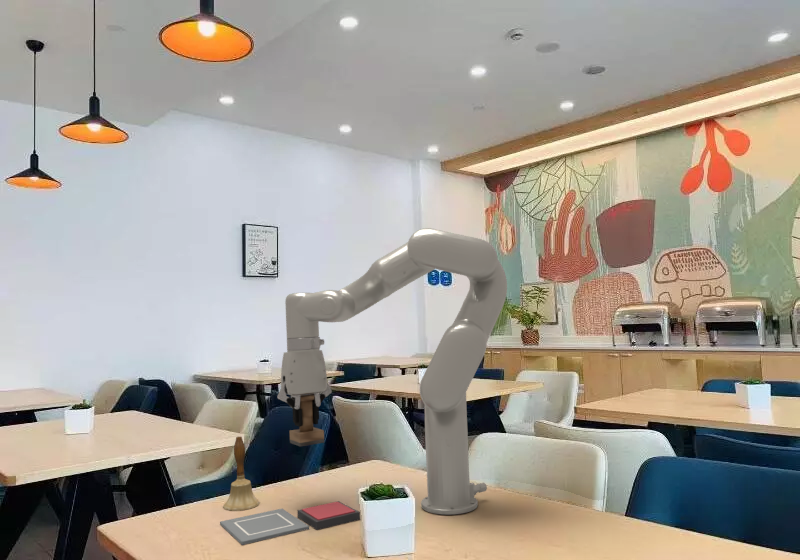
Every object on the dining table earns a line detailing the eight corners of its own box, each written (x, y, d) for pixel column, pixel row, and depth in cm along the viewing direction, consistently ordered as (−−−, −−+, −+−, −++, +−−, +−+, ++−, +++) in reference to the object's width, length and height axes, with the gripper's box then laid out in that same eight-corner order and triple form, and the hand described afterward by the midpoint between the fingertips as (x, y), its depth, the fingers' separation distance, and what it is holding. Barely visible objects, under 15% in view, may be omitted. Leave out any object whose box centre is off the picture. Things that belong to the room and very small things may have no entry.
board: (282, 511, 136) (282, 508, 136) (309, 529, 123) (309, 525, 123) (220, 524, 128) (219, 521, 128) (242, 545, 116) (241, 541, 116)
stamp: (313, 438, 144) (311, 393, 144) (324, 442, 139) (322, 395, 139) (289, 442, 140) (288, 396, 141) (300, 446, 135) (298, 398, 136)
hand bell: (238, 513, 136) (236, 441, 137) (215, 507, 141) (214, 438, 142) (267, 503, 142) (265, 435, 143) (244, 498, 147) (243, 432, 148)
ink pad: (338, 508, 136) (338, 500, 136) (359, 519, 128) (359, 511, 128) (297, 517, 131) (297, 509, 131) (316, 530, 122) (316, 521, 123)
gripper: (328, 343, 149) (331, 418, 147) (264, 347, 140) (266, 427, 139) (341, 343, 142) (345, 421, 141) (275, 347, 133) (278, 431, 132)
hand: (306, 423), depth 140 cm, fingers closed on stamp, 3 cm apart
